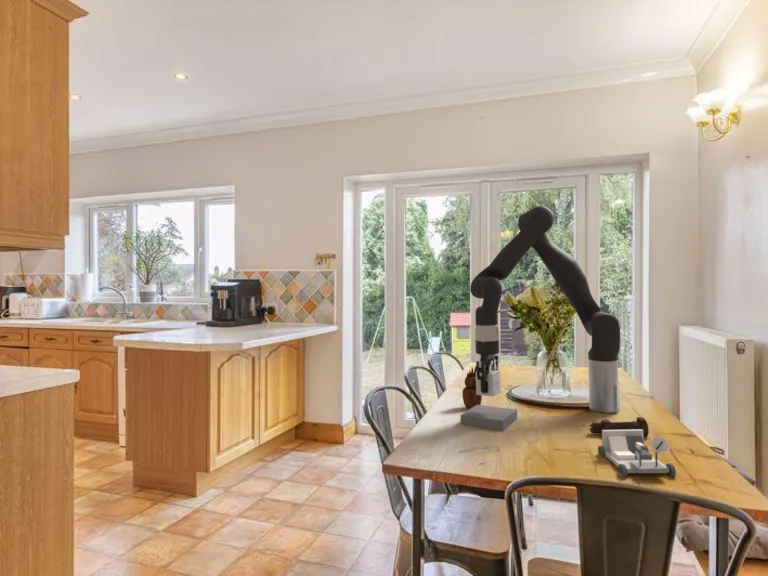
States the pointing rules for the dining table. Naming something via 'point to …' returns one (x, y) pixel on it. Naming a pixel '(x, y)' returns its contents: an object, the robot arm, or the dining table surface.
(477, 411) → the stand
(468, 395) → the wooden figurine
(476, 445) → the dining table surface
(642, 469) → the toy go-kart
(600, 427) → the bolt
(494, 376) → the skincare box
